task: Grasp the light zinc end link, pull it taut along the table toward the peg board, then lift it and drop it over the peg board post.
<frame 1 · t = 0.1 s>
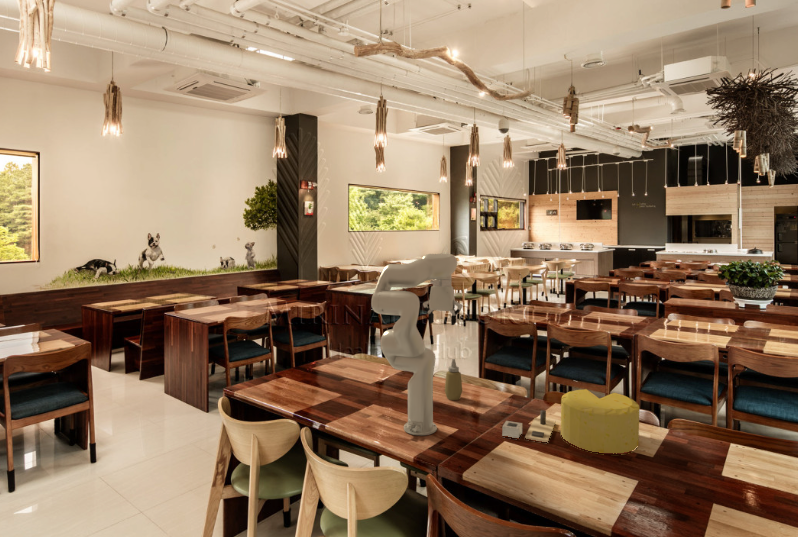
hand: (442, 323, 205), 37 cm above the table, tool pointing down, fingers open, 9 cm apart
link: (512, 435, 180), on the table
cheese: (598, 439, 176), on the table
squeeze bottle: (453, 398, 221), on the table
peg board: (540, 431, 183), on the table
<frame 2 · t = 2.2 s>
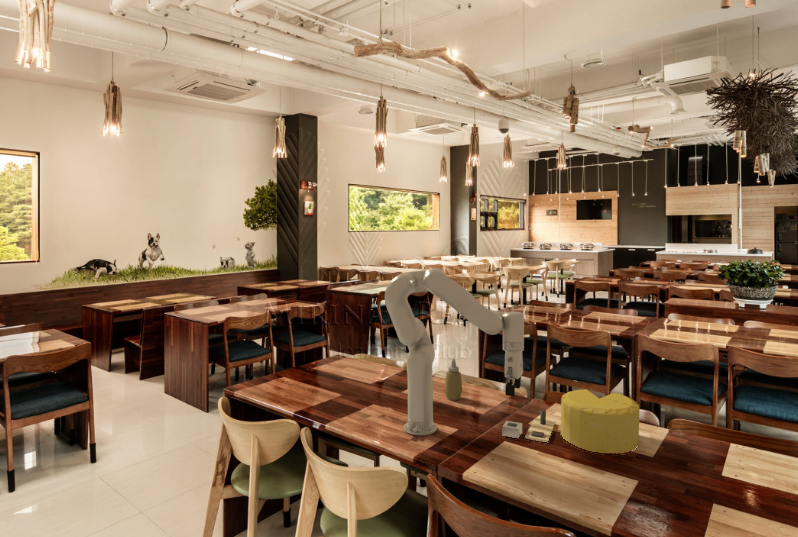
hand: (513, 391, 179), 16 cm above the table, tool pointing down, fingers open, 9 cm apart
nothing on the table moved.
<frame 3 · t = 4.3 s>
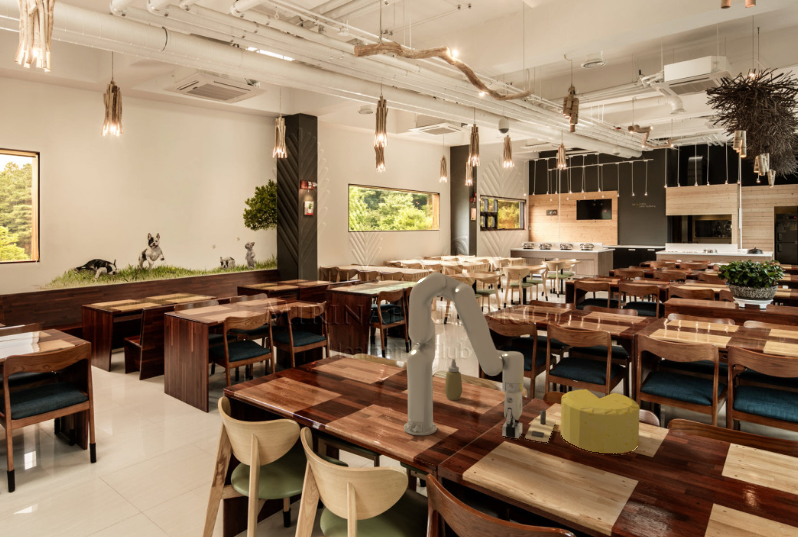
hand: (512, 433, 180), 1 cm above the table, tool pointing down, fingers closed on link, 6 cm apart
link: (512, 435, 180), on the table, touching gripper
everything else where it was.
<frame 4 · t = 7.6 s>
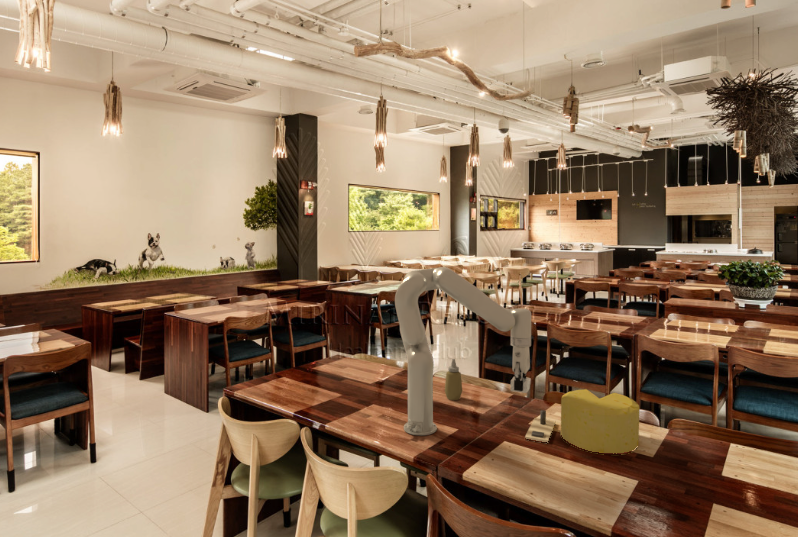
hand: (520, 387, 186), 16 cm above the table, tool pointing down, fingers closed on link, 6 cm apart
link: (520, 389, 186), point 15 cm above the table, touching gripper
everything else where it was.
when the fingers open (4 cm above the table, at t = 10.9 s): link drops 2 cm, resting on peg board.
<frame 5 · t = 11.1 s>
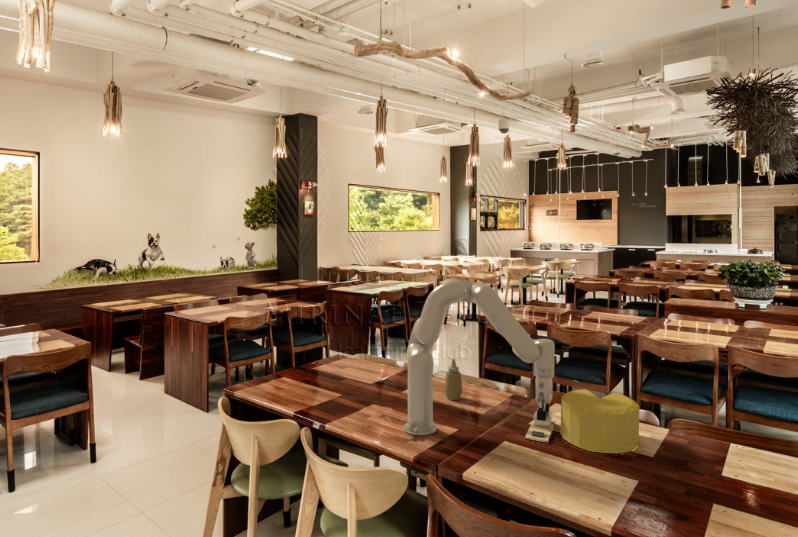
hand: (543, 416, 187), 4 cm above the table, tool pointing down, fingers open, 8 cm apart
link: (542, 423, 187), point 1 cm above the table, touching peg board
everything else where it was.
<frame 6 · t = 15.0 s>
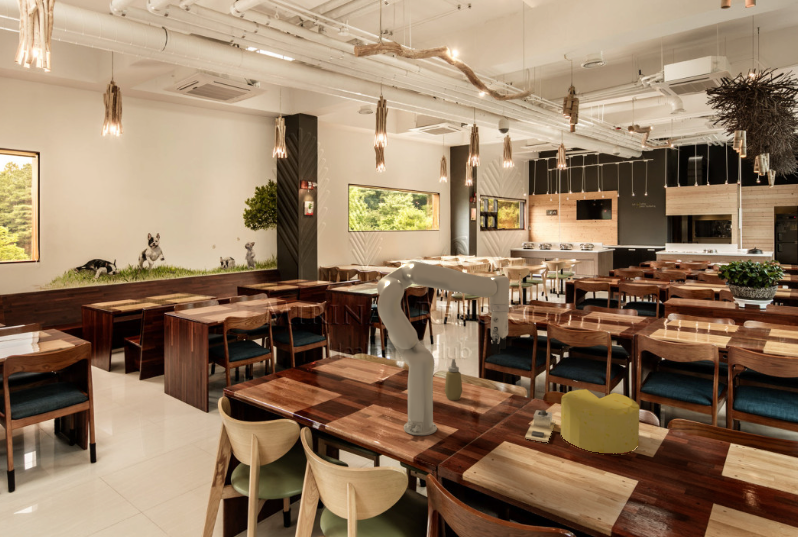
hand: (498, 351, 191), 28 cm above the table, tool pointing down, fingers open, 9 cm apart
nothing on the table moved.
at the end: link 0.1 cm from the target spot on the peg board, point 1.2 cm above the peg board's base; the gripper is holding nothing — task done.
